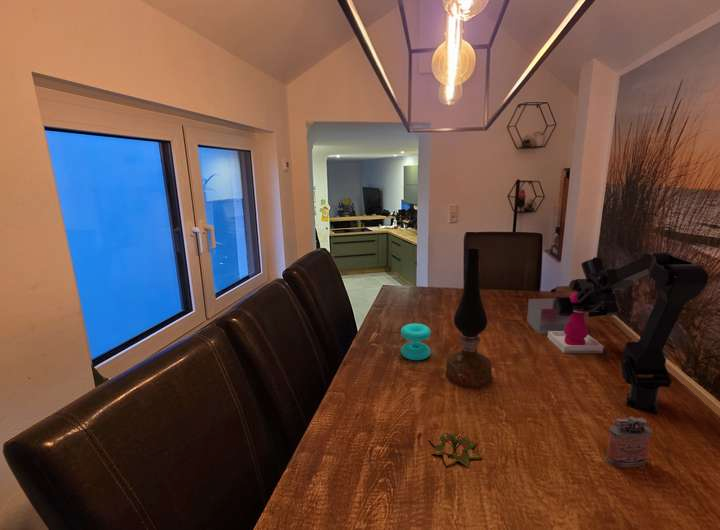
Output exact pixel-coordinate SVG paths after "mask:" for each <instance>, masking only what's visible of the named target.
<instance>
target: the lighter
mask: <svg viewBox="0 0 720 530" xmlns="http://www.w3.org/2000/svg"><path fill="white" fill-rule="evenodd" d="M647 422H648V421H647V419H645V418H643V417H639V418H637V417H636V418H635V417H634V416H632V415H630V416H629V417H627V418H616V419H615V420H614V425H611V426H609V430H608V432H609V438H608V444H607V453H606V454H605V461H606V462H607V463H608V464H610V465H611V466H613V467H623V468H625V467H626V468H627V467H629V468H631V467H639V466H644V465H646V464H647V462H648V458H647V456H648V455H647V454H648V448H649V443H650V437H651V436H652V433H653V432H652V429H650V427H649V426H647V424H648V423H647Z"/></svg>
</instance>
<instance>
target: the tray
mask: <svg viewBox="0 0 720 530" xmlns="http://www.w3.org/2000/svg"><path fill="white" fill-rule="evenodd" d="M565 336H567V335H566V334H565V333H564V331H548V334H547V339H548V338H549V339H548V340H550V341H551V343H553V345H555V346H556V347H557V348H558V349H559V350H560V351H561V352H562V353H563V354H603V353H604V345H602V344H601V343H600V342H599V341H597V340H596V339H595V338H593V337H592V336H591V335H590V334H588V335H587V337H585V338H584V339H585V345H568V344H566V343H565Z"/></svg>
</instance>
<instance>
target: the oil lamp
mask: <svg viewBox="0 0 720 530" xmlns="http://www.w3.org/2000/svg"><path fill="white" fill-rule="evenodd" d="M479 251H480V249H479V248H468V249H467V252H466V253H467V254H466V266H465V279H464V286H463V293H462V295H461V299H460V301H459V305H458V307H457V309H456V310H455V314H454V318H453V322H454V326H455V327H456V330H458V331H459V332H460V333H461V335H460V336H459V341H460V344H461V350H457V351H454V352H452V353H450V354H448V356H447V358H446V367H445V369H446V370H445V372H444V374H445V377H446V379H447V380H448V381H450V382H451V383H452V384H455V385H457V386H458V387H459V386H460V387H462V386H463V388H467V387H468V389H478V388H480V389H481V388H483V387H484V388H485V387H486V386H489V385H490V384H491V382H492V381H493V375H492V371H493V370H492V369H493V366H492V365H493V363H492V361H491V359H490V358H489V357H487V356H486V355H485V354H482V353H480V352H479V351H478V346H479V344H480V342H481V338H480V337H479V336H478V335H479V334H481V333H482V332H484V331H485V329H486V327H487V325H488V317H487V313H486V310H485V307H484V303H483V301H482V297H481V292H480V290H481V289H480V255H479V254H480V252H479Z"/></svg>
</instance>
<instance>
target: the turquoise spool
mask: <svg viewBox="0 0 720 530" xmlns="http://www.w3.org/2000/svg"><path fill="white" fill-rule="evenodd" d="M400 334H401V337H402V338H404V339H406V340H408V342H406V343H404V344H403V345H402V346H401V348H400V353H401V355H402V356H403V357H404V358H405V359H408V360H411V361H422V360H425V359H427V358H428V357H430V355H431V349H430V347H429V345H427V344H426V343H425V342H424V343H423V342H422V341H426V340H427V339H428V338H430V336H431V334H432V333H431V329H430V328H429V327H428V326H427V325H425V324H423V323H408V324H405V325H404V326H402V327H401V330H400Z"/></svg>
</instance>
